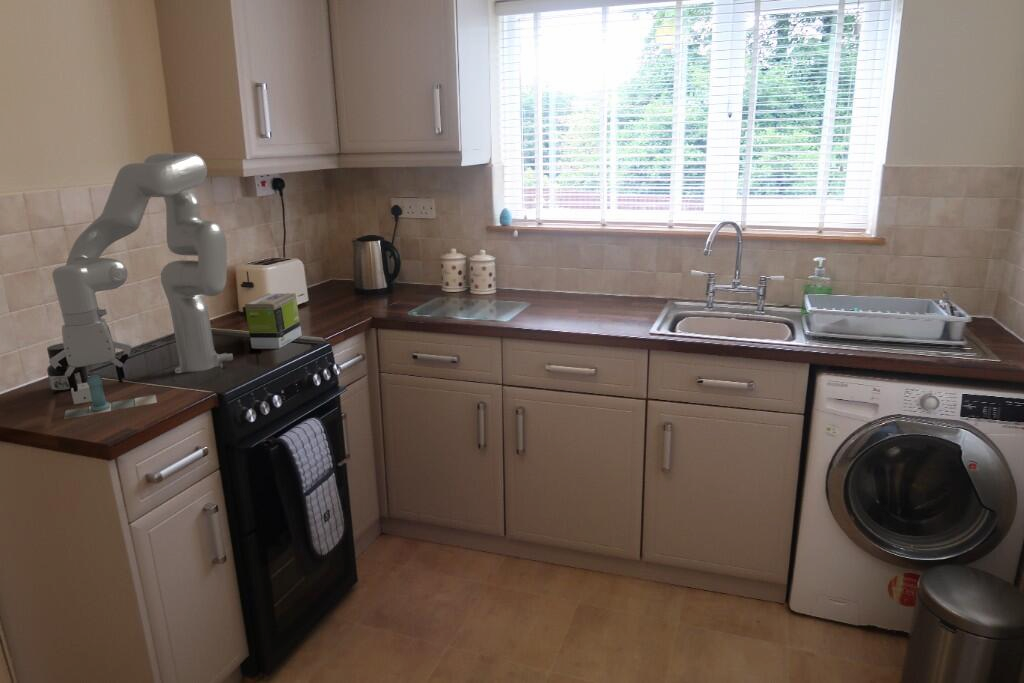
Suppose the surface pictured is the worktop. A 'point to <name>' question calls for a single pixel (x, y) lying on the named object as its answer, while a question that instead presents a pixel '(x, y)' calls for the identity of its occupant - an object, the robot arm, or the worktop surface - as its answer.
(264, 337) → the tea box
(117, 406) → the board
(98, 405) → the pawn
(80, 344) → the robot arm
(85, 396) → the die
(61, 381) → the ink bottle
